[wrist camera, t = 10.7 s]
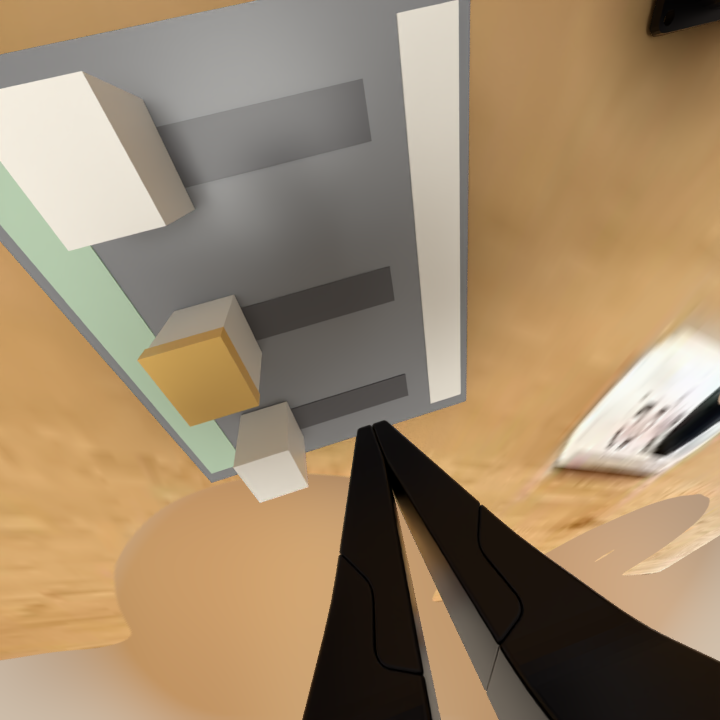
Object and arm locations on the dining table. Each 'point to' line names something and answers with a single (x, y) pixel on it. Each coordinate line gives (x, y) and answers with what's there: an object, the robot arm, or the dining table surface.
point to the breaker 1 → (89, 159)
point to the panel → (284, 207)
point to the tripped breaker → (206, 361)
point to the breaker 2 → (271, 452)
